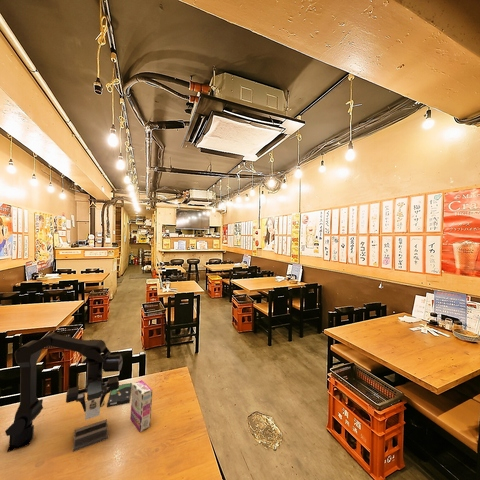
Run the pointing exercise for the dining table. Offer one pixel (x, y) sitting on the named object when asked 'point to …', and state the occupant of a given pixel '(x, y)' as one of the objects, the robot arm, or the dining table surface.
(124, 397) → the disk drive
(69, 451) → the dining table surface
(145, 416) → the candy bar box
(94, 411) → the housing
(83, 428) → the stand
